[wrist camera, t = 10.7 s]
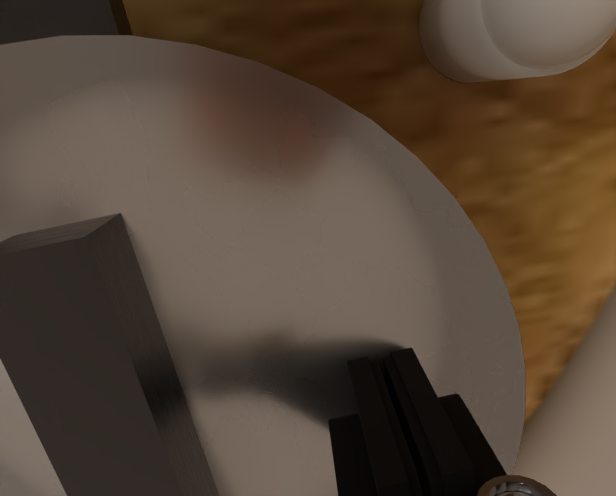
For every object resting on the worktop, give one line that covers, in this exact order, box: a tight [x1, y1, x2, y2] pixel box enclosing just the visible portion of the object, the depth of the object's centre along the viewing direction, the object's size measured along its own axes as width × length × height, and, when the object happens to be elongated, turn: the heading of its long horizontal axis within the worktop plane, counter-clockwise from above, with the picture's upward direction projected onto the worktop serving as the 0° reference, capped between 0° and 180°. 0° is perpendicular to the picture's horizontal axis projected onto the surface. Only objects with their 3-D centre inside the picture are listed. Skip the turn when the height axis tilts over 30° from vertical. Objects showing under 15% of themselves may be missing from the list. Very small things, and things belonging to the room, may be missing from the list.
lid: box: [0, 35, 526, 496], centre depth 11 cm, size 19×19×3 cm
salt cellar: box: [419, 0, 616, 83], centre depth 16 cm, size 5×5×8 cm
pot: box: [0, 0, 133, 45], centre depth 18 cm, size 26×20×10 cm
